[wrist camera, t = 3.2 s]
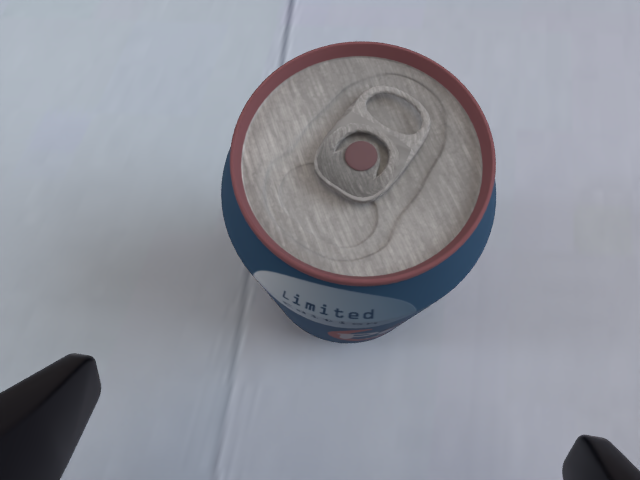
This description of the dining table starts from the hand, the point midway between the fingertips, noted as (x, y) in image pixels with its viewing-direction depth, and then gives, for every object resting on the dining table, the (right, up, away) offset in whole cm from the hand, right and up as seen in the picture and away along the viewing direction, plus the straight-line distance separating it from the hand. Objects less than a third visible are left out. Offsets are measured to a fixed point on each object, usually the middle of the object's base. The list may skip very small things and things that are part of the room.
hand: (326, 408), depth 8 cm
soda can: (+1, +2, +13) cm, 13 cm away
